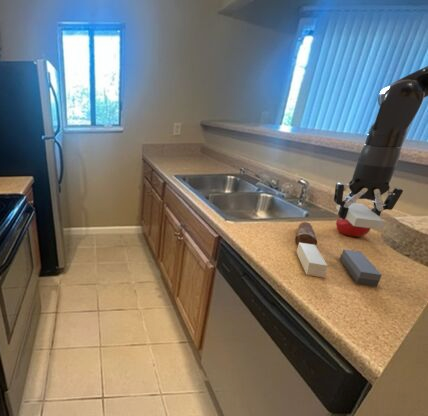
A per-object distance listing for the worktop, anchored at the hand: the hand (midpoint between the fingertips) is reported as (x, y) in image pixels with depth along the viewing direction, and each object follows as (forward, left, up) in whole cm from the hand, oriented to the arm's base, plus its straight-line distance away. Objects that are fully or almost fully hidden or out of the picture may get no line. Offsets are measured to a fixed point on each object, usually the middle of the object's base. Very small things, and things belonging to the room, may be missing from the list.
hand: (356, 219), depth 79 cm
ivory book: (0, 0, +1) cm, 1 cm away
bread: (+6, -20, -17) cm, 27 cm away
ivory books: (+8, 0, -17) cm, 18 cm away
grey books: (-4, 0, -17) cm, 17 cm away
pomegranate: (-12, -31, -17) cm, 37 cm away
